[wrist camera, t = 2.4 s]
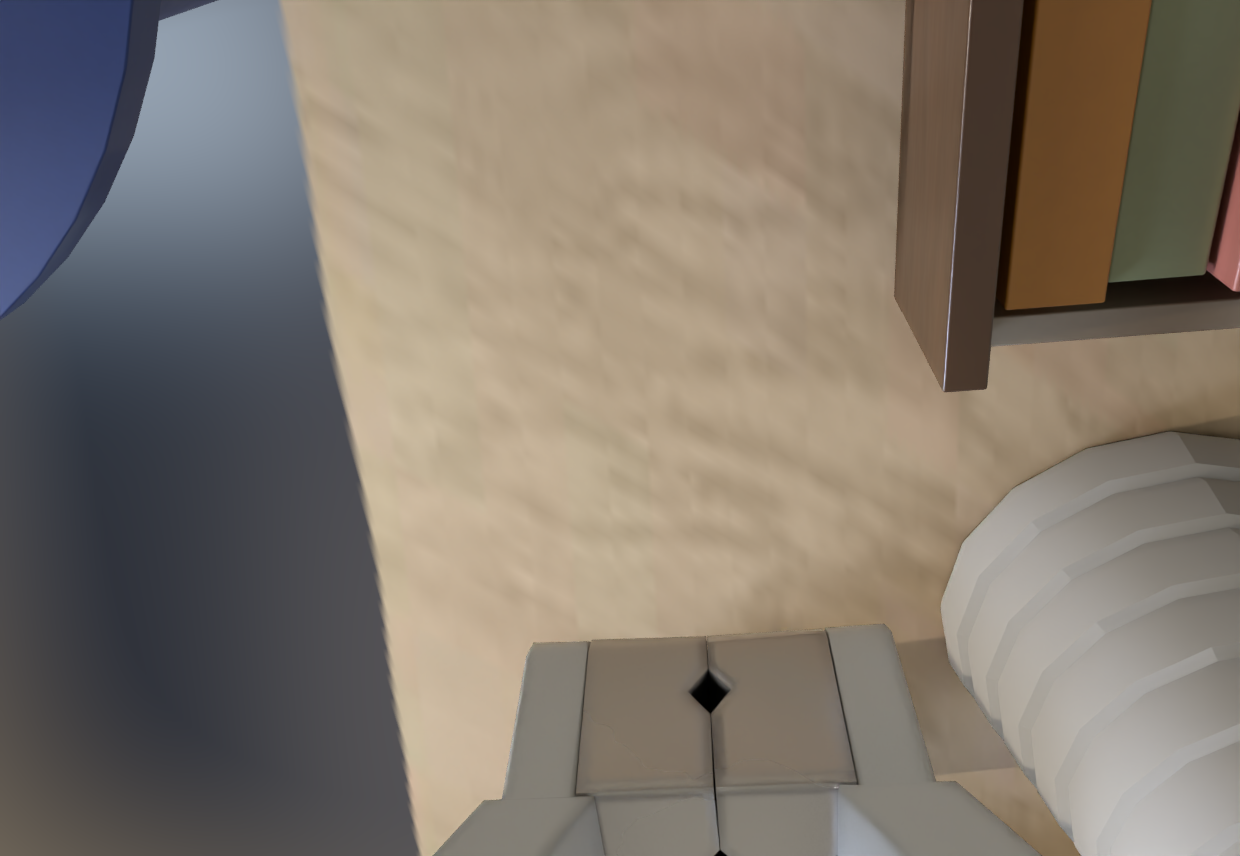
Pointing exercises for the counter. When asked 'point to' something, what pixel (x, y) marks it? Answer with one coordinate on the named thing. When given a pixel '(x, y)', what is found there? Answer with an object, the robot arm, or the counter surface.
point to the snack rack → (1066, 174)
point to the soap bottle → (1114, 641)
